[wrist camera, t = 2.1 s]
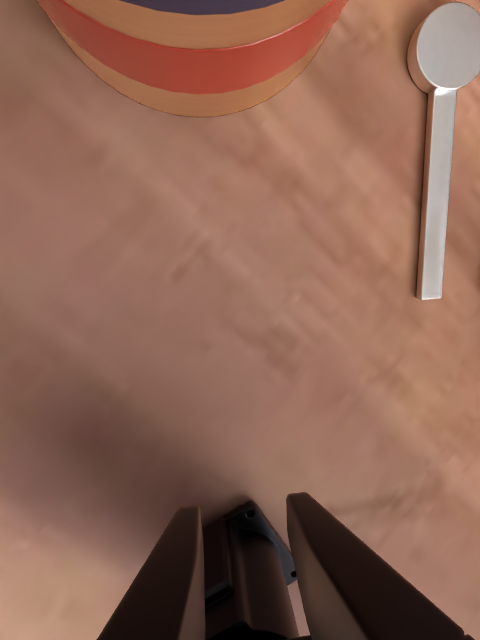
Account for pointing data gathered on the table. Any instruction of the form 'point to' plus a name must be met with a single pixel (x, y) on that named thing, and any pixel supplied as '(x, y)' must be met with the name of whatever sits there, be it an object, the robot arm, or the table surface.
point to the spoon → (440, 122)
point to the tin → (195, 47)
